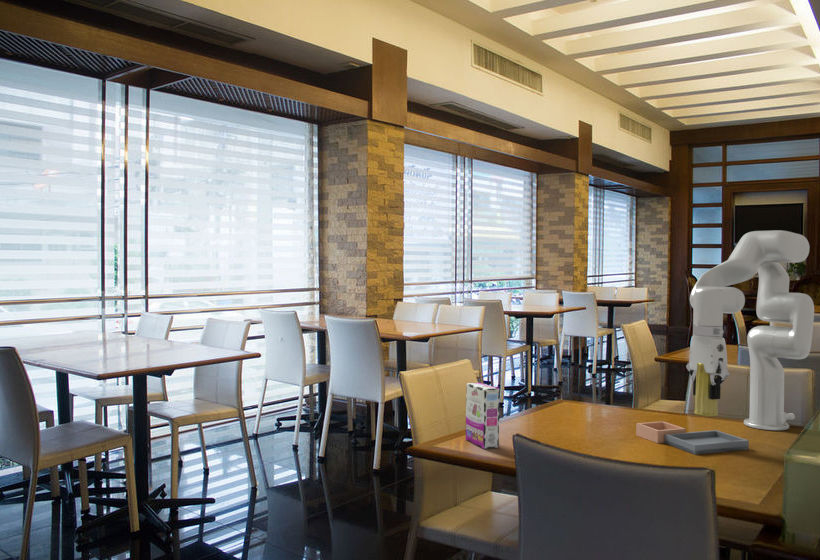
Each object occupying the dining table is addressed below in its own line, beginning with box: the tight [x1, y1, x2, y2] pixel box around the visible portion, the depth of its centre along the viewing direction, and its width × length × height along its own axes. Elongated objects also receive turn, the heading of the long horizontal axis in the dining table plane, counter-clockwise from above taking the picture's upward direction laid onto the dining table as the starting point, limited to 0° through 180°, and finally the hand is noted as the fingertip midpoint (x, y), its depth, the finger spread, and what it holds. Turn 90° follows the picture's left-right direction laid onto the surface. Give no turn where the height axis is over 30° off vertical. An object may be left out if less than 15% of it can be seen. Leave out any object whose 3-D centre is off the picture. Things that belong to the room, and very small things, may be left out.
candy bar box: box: [465, 382, 501, 450], centre depth 186 cm, size 11×5×16 cm, turn 23°
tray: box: [663, 429, 750, 456], centre depth 185 cm, size 18×12×2 cm, turn 108°
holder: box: [635, 421, 687, 444], centre depth 194 cm, size 10×10×4 cm
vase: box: [693, 363, 719, 417], centre depth 185 cm, size 6×6×14 cm
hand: (706, 396), depth 185 cm, fingers closed on vase, 5 cm apart
